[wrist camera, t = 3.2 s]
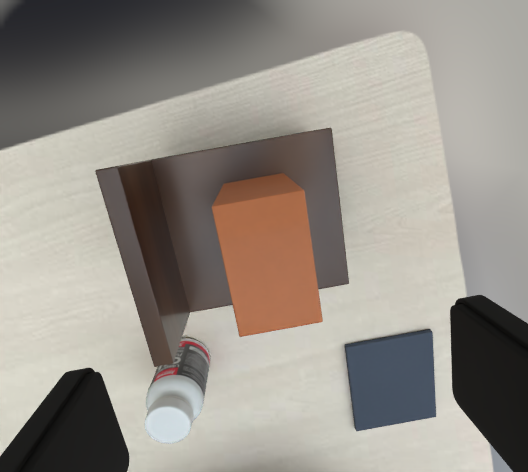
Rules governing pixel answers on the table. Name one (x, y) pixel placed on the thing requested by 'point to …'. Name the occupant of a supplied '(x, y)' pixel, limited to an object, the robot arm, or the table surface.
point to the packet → (267, 254)
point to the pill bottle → (177, 393)
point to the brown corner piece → (210, 225)
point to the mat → (392, 379)
